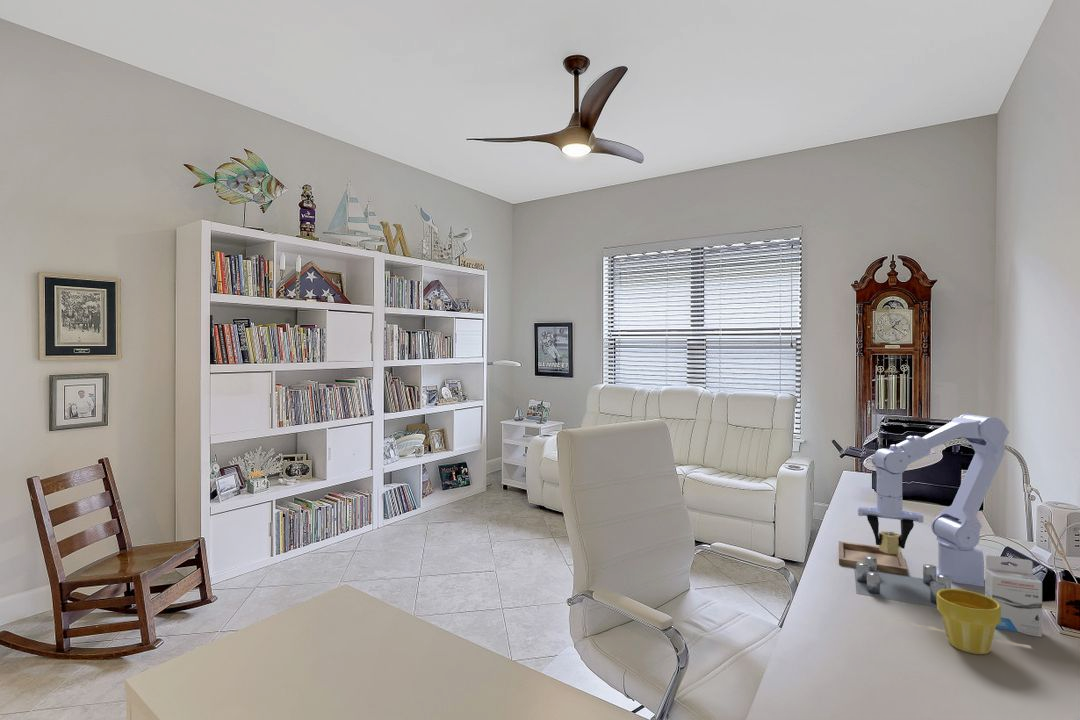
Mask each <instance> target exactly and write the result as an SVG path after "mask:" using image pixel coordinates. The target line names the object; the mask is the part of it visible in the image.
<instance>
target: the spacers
mask: <svg viewBox="0 0 1080 720" xmlns="http://www.w3.org/2000/svg"><path fill="white" fill-rule="evenodd" d="M855 568H856V570H857V581H858V582H860V583H865V584H867V591H868V592H869V593H871V594H880V574H878V573H877V571H878V570H877V558H876V557H873V556H865V563H863V562H857V563H856V567H855ZM936 569H937V567H936V566H935V565H933V564H928V563H924V564H923V565H922V578H923V583H924V584H926V585H930V602H931V603H933V604H936V605H937V599H936V594H937V592H938V591H939V590H942V589H952V582H951V577H950V576H948V575H944V574H936Z"/></svg>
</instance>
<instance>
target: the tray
mask: <svg viewBox="0 0 1080 720" xmlns="http://www.w3.org/2000/svg"><path fill="white" fill-rule="evenodd" d="M865 556H873V557H876V558H877V571H878V572H884V573H891V574H897V575H904V576H908V568H907V565H906V562H905V558H904V555H903V552H902V551H901V552H900V553H899V554H888V553H885V552H883V551H880V550H879V545H869V544H861V543H856V542H855V543H853V542H848V541H841V540H838V565H839V566H846V567H852V568H853V567H854V568H856V563H857V562H863V563H865Z"/></svg>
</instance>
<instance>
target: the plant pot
mask: <svg viewBox="0 0 1080 720" xmlns="http://www.w3.org/2000/svg"><path fill="white" fill-rule="evenodd" d="M936 599H937V608H936V609H937V611H938V612H939V613H940V615H941V618H942V621H943V625H944V629H945V633H946V637H947V641H948V643H949V644H950V645H951V646H952V647H954V648H955V649H958V650H959V651H962V652H965V653H969V654H973V655H987V654H988V653H990V650H991V646H992V643H993V638H994V635H995V633H996V632H995V630H996V629H997V628H996V625H998V624H999V623H1000V621H1001V607H1000V604H999V603H998V602H997V601H995V600H994V599H992V598H990V597H987V596H985V594H982V593H979V592H976V591H971V590H966V589H959V588H951V589H942V590H939V591H938V592H937V594H936Z"/></svg>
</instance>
